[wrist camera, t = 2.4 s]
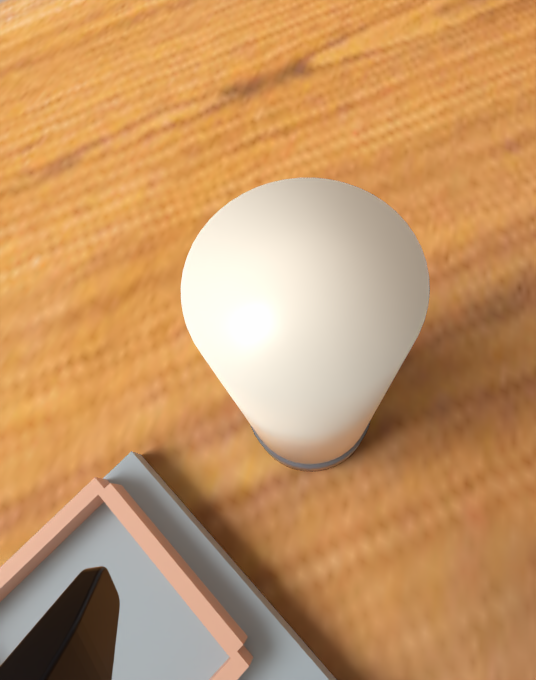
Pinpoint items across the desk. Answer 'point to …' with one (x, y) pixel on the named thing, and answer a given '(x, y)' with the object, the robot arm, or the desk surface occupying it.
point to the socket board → (154, 587)
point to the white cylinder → (306, 311)
